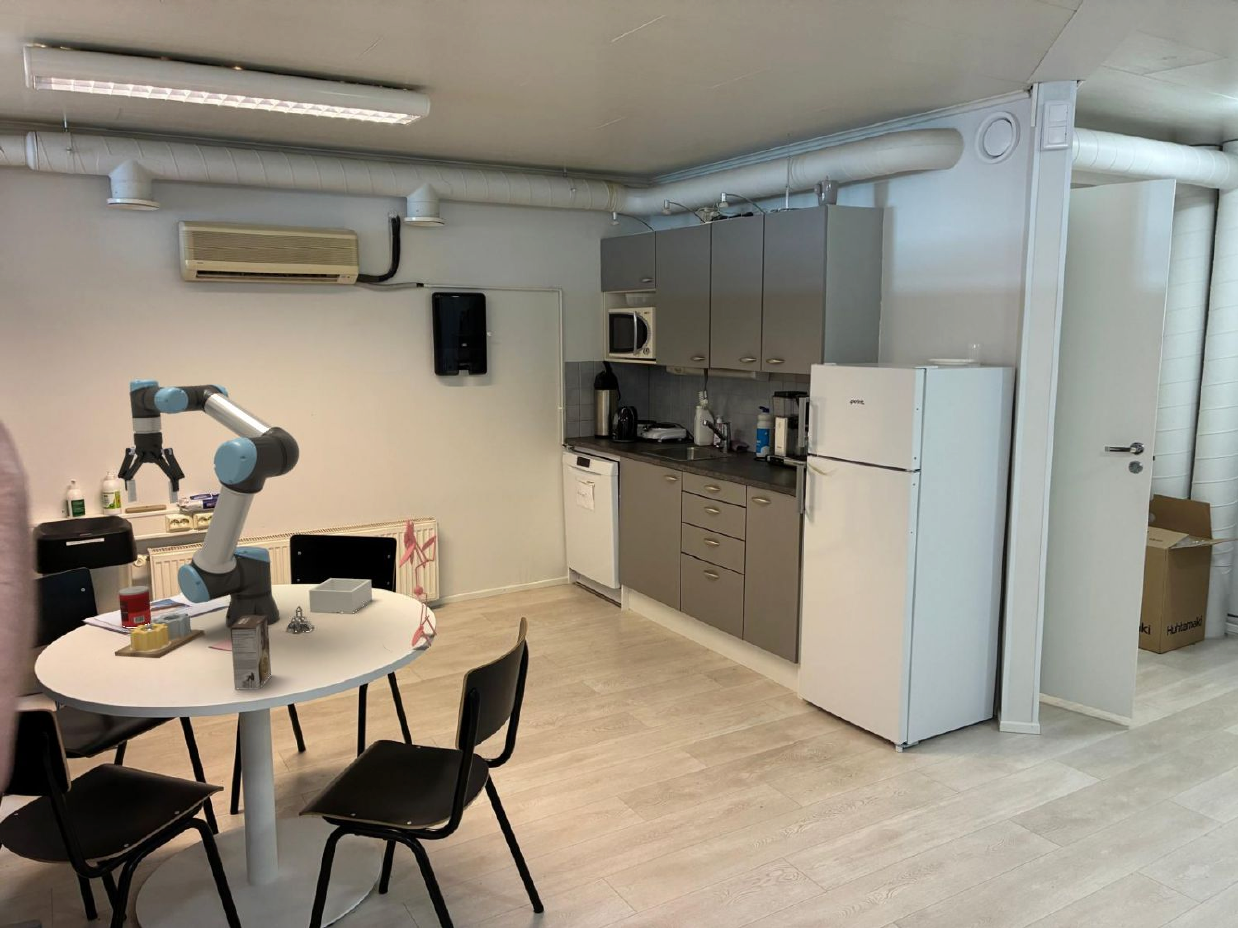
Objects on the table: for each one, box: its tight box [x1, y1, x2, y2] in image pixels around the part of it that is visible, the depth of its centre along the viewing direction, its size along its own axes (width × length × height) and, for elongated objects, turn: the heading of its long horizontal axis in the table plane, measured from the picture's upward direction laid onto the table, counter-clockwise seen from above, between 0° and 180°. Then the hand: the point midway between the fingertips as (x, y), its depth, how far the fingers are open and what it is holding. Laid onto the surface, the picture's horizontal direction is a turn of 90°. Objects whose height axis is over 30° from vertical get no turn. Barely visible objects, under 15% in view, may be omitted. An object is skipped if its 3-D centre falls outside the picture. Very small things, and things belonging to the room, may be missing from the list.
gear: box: [153, 612, 192, 640], centre depth 250 cm, size 9×9×6 cm
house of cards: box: [285, 605, 315, 634], centre depth 254 cm, size 9×9×8 cm
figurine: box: [398, 519, 443, 647], centre depth 245 cm, size 15×26×35 cm, turn 2°
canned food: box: [118, 585, 152, 627], centre depth 262 cm, size 8×8×11 cm
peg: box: [144, 623, 154, 631], centre depth 240 cm, size 2×2×6 cm
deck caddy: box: [308, 577, 373, 614], centre depth 280 cm, size 14×14×7 cm
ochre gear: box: [129, 622, 169, 652], centre depth 240 cm, size 9×9×5 cm
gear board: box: [114, 629, 205, 659], centre depth 245 cm, size 13×20×1 cm, turn 172°
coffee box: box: [230, 615, 272, 690], centre depth 216 cm, size 9×6×16 cm
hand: (153, 502), depth 261 cm, fingers open, 13 cm apart
